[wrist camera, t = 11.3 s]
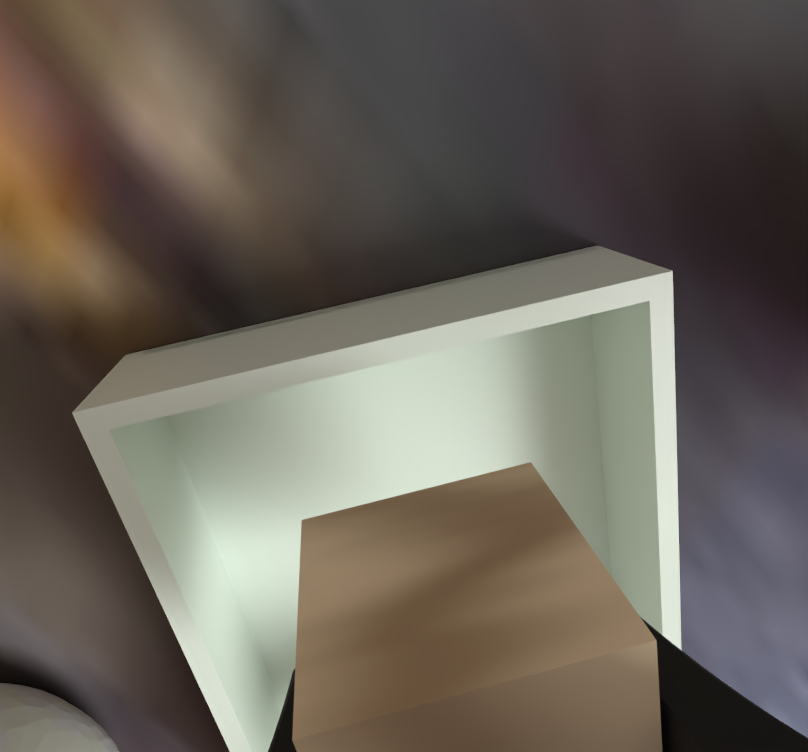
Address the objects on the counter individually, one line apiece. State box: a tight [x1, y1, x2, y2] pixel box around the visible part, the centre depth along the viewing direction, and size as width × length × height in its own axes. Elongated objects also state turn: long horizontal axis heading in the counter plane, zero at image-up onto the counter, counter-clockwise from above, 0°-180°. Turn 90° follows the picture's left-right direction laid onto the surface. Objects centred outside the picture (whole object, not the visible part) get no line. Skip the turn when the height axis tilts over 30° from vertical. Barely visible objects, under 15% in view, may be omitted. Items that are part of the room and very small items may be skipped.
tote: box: [72, 245, 681, 752], centre depth 19 cm, size 14×19×4 cm
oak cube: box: [292, 462, 662, 752], centre depth 11 cm, size 5×5×5 cm
